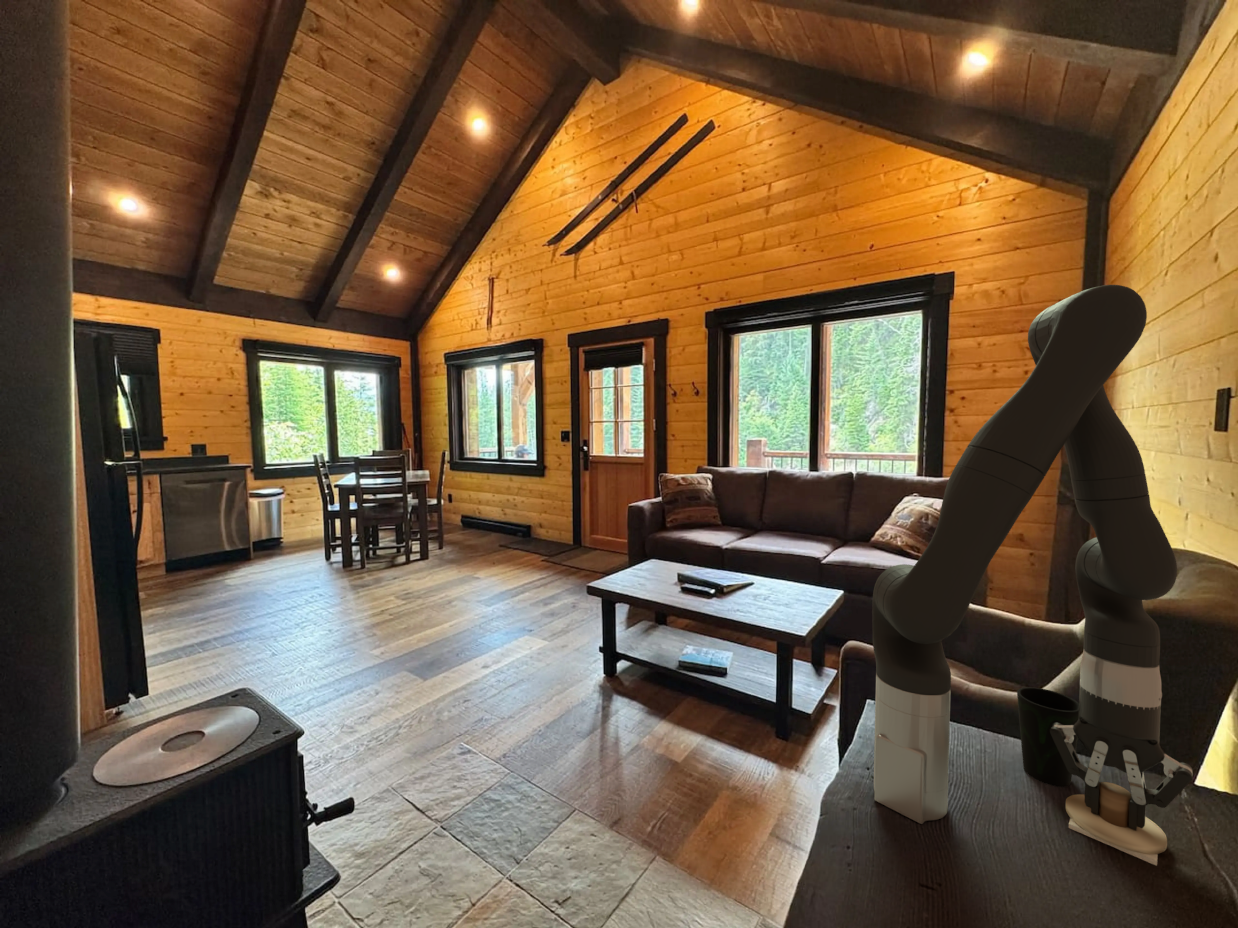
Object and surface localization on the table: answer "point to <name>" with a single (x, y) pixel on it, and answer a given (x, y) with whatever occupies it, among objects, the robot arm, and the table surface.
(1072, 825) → the plate
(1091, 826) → the lid
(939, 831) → the table surface
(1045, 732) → the cup
